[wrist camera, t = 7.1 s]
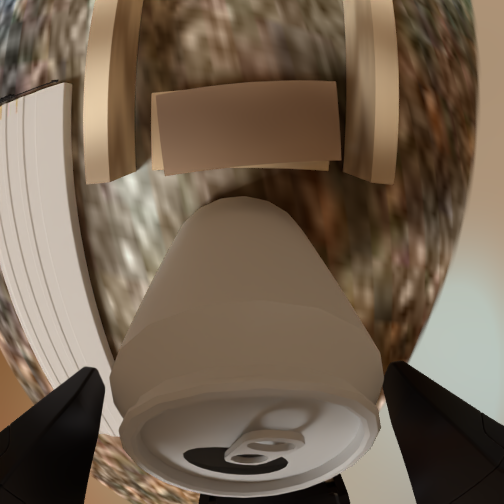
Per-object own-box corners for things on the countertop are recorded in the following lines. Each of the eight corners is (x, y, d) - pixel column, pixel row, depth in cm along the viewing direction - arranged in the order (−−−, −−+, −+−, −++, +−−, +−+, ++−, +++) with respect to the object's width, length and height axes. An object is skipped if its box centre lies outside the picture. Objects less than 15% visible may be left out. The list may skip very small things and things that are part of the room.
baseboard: (67, 414, 23) (147, 430, 24) (59, 432, 20) (143, 452, 21) (-21, 120, 12) (77, 83, 12) (-46, 123, 9) (52, 77, 10)
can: (160, 291, 17) (96, 477, 6) (198, 172, 14) (88, 295, 3) (273, 327, 18) (308, 508, 7) (327, 222, 16) (466, 382, 5)
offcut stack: (316, 167, 14) (343, 178, 11) (162, 166, 14) (138, 177, 10) (319, 95, 13) (347, 83, 9) (162, 93, 12) (137, 80, 9)
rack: (362, 173, 15) (393, 184, 11) (116, 172, 14) (86, 184, 11) (355, -46, 9) (376, -71, 6) (135, -51, 8) (119, -78, 5)
